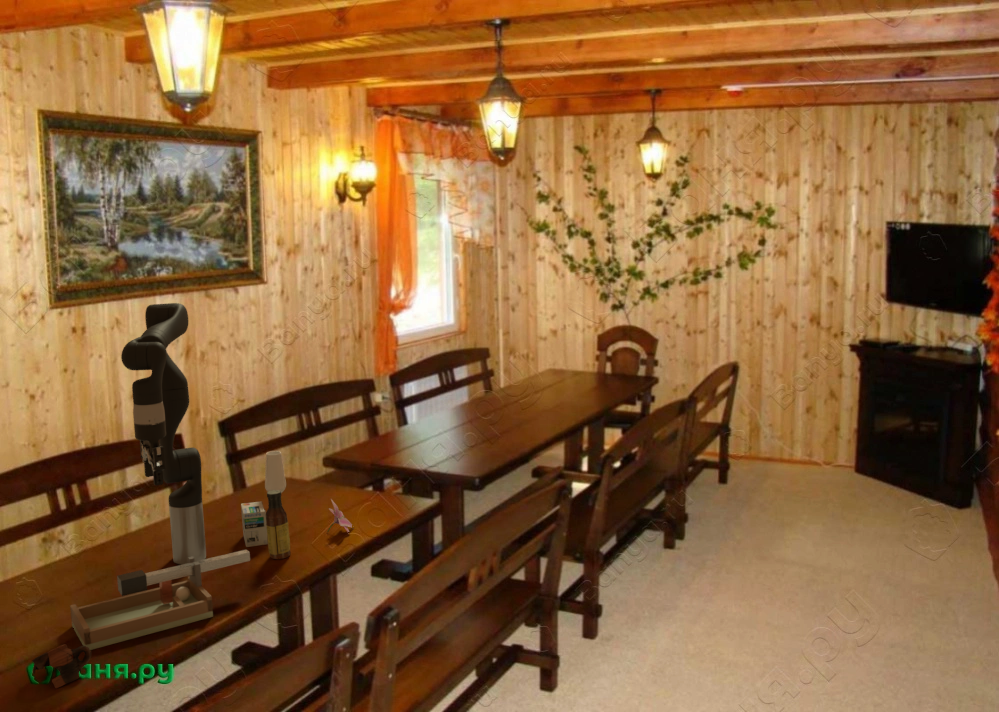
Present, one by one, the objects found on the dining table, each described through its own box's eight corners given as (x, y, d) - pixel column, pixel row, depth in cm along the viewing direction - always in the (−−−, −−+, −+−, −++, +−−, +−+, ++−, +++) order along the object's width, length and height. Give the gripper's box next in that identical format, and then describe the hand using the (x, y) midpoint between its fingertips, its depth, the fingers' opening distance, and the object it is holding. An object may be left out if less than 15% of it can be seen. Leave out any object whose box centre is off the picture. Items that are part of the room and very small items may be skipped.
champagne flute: (266, 529, 294) (262, 456, 290) (267, 521, 301) (263, 450, 297) (288, 527, 296) (284, 455, 292) (288, 520, 302) (284, 449, 298)
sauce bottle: (292, 551, 275) (289, 488, 272) (288, 560, 269) (284, 494, 265) (270, 552, 275) (266, 488, 271) (266, 560, 269) (262, 495, 265)
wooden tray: (72, 626, 229) (67, 582, 227) (193, 595, 246) (190, 554, 244) (86, 651, 216) (81, 605, 214) (213, 616, 233) (210, 573, 231)
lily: (336, 545, 282) (350, 517, 282) (307, 526, 287) (321, 498, 286) (354, 543, 294) (368, 517, 294) (325, 525, 298) (339, 499, 298)
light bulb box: (268, 544, 281) (266, 511, 279) (245, 547, 279) (243, 513, 277) (264, 533, 291) (262, 500, 289) (242, 536, 289) (240, 503, 287)
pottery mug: (41, 696, 197) (26, 661, 198) (44, 696, 205) (29, 662, 206) (98, 668, 203) (83, 633, 204) (98, 668, 211) (84, 635, 212)
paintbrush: (120, 610, 232) (117, 575, 230) (247, 577, 251) (245, 545, 249) (124, 615, 229) (121, 580, 227) (252, 582, 247) (250, 550, 246)
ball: (190, 588, 242) (182, 600, 241) (179, 582, 240) (170, 594, 239) (194, 593, 239) (186, 605, 238) (183, 586, 237) (175, 599, 236)
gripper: (127, 416, 238) (132, 476, 241) (141, 427, 227) (146, 490, 230) (157, 412, 243) (161, 471, 245) (172, 423, 231) (177, 484, 234)
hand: (154, 480), depth 238 cm, fingers open, 8 cm apart
